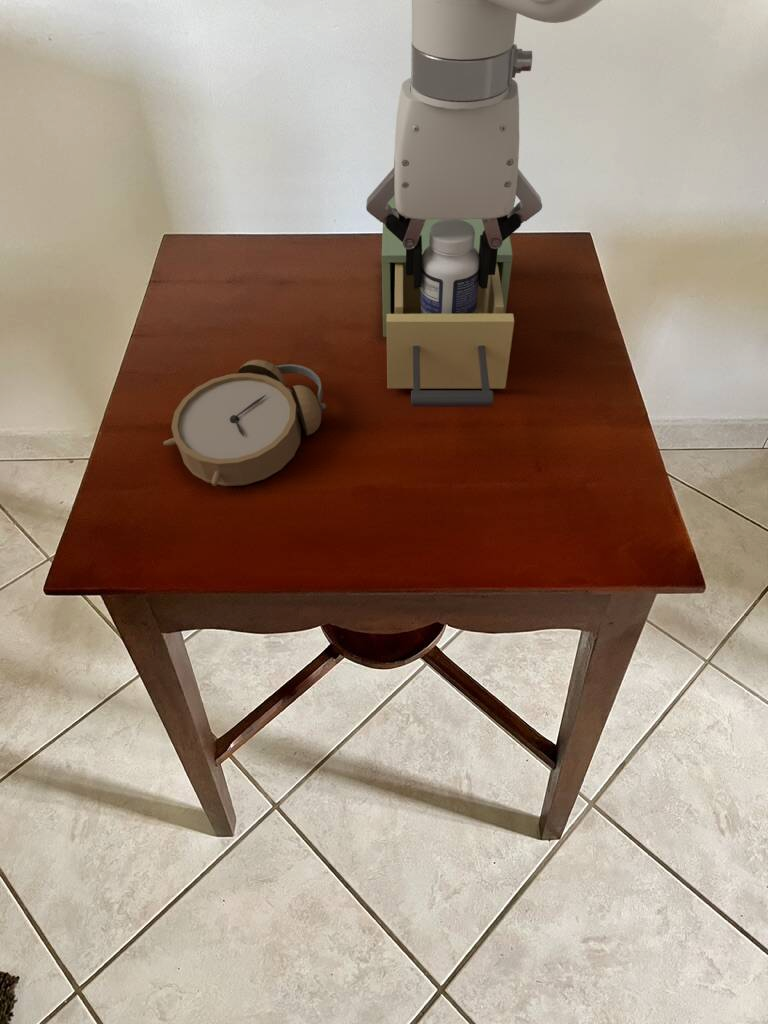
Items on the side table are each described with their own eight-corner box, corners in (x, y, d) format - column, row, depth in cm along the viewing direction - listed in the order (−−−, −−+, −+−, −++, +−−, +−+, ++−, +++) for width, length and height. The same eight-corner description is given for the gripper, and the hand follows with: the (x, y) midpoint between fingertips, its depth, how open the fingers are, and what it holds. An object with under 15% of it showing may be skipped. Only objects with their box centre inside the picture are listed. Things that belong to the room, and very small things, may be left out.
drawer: (512, 444, 70) (522, 377, 64) (386, 444, 70) (385, 377, 64) (495, 312, 83) (502, 245, 77) (389, 312, 83) (388, 246, 77)
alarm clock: (143, 423, 69) (266, 326, 74) (164, 456, 74) (279, 362, 78) (221, 487, 64) (347, 377, 69) (239, 518, 68) (356, 413, 73)
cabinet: (502, 337, 82) (512, 254, 74) (383, 337, 82) (381, 255, 75) (493, 265, 90) (501, 185, 83) (385, 265, 91) (384, 186, 83)
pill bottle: (475, 307, 77) (483, 215, 70) (474, 340, 74) (483, 247, 66) (421, 305, 77) (423, 213, 70) (417, 338, 74) (419, 245, 67)
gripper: (568, 49, 60) (537, 257, 74) (349, 51, 61) (359, 258, 75) (583, 88, 56) (546, 303, 69) (344, 90, 56) (355, 304, 70)
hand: (449, 278), depth 72 cm, fingers closed on pill bottle, 5 cm apart
